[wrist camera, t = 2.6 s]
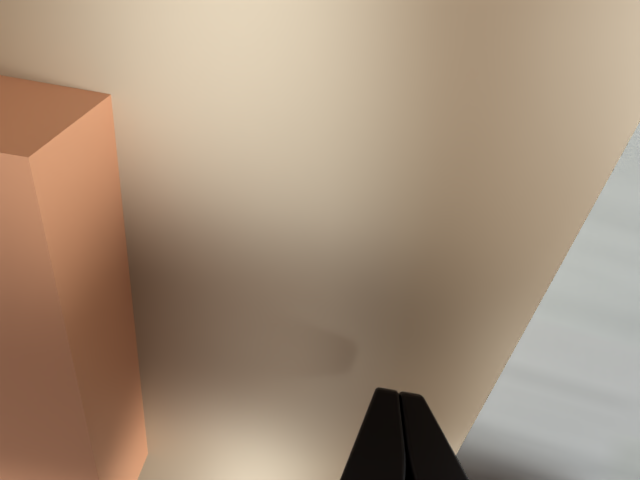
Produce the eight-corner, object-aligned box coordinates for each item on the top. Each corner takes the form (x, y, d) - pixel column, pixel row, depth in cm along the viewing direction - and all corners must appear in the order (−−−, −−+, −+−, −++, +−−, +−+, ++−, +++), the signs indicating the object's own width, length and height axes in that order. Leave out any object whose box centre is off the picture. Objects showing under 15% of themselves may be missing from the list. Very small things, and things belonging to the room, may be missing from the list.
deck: (729, -404, 6) (1096, -710, 3) (375, 480, 19) (375, 601, 16) (-508, -635, 6) (-1467, -1207, 3) (-36, 412, 19) (-120, 519, 16)
